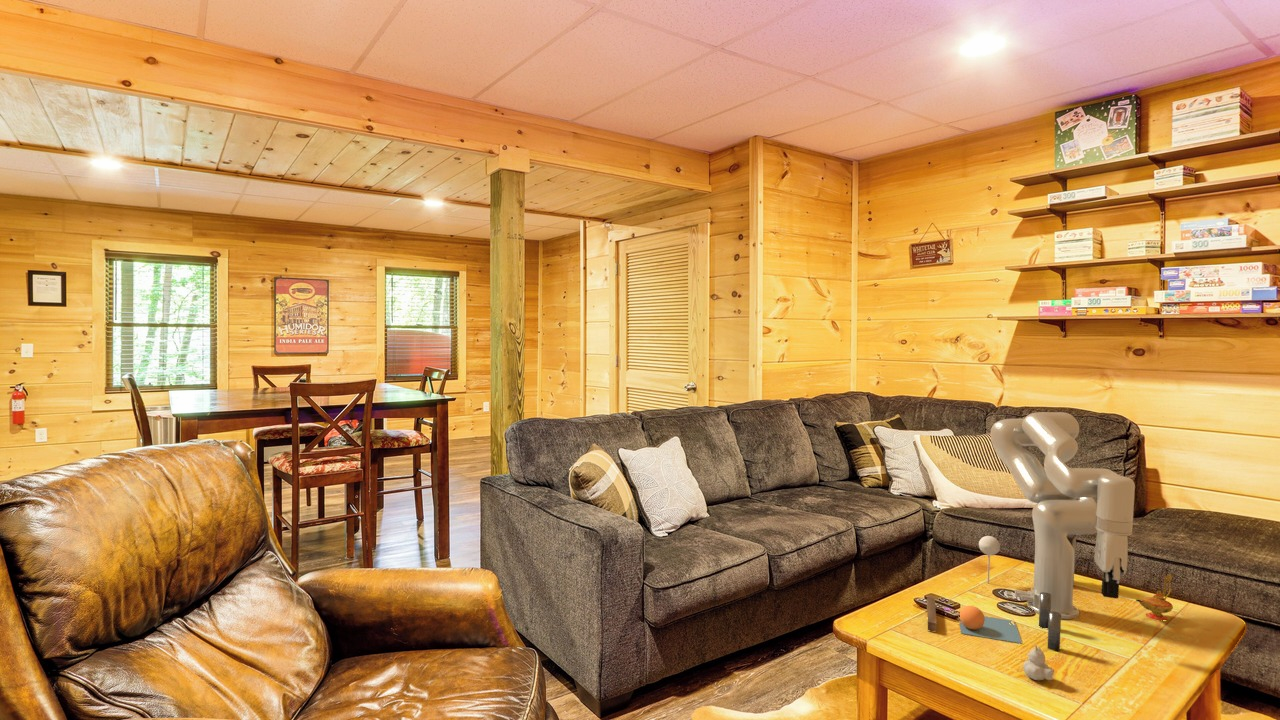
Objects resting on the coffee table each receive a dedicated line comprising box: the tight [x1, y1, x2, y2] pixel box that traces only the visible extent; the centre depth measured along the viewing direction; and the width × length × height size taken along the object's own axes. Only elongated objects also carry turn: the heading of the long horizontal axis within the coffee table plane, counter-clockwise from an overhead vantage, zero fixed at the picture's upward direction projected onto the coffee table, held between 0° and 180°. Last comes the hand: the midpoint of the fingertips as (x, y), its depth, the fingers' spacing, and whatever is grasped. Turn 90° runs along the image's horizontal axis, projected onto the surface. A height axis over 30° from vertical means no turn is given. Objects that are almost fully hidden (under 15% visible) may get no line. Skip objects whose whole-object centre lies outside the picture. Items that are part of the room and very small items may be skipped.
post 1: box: [1038, 592, 1051, 629], centre depth 177 cm, size 3×3×9 cm
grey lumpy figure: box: [1022, 643, 1055, 681], centre depth 151 cm, size 5×7×8 cm
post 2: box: [1047, 611, 1062, 652], centre depth 165 cm, size 3×3×9 cm
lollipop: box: [978, 535, 1001, 584], centre depth 208 cm, size 6×6×15 cm
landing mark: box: [958, 615, 1023, 645], centre depth 177 cm, size 14×14×1 cm
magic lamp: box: [1135, 574, 1174, 622], centre depth 183 cm, size 7×18×11 cm, turn 118°
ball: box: [959, 605, 985, 630], centre depth 176 cm, size 6×6×6 cm
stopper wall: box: [926, 596, 937, 632], centre depth 182 cm, size 2×18×2 cm, turn 157°
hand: (1109, 596), depth 166 cm, fingers closed
